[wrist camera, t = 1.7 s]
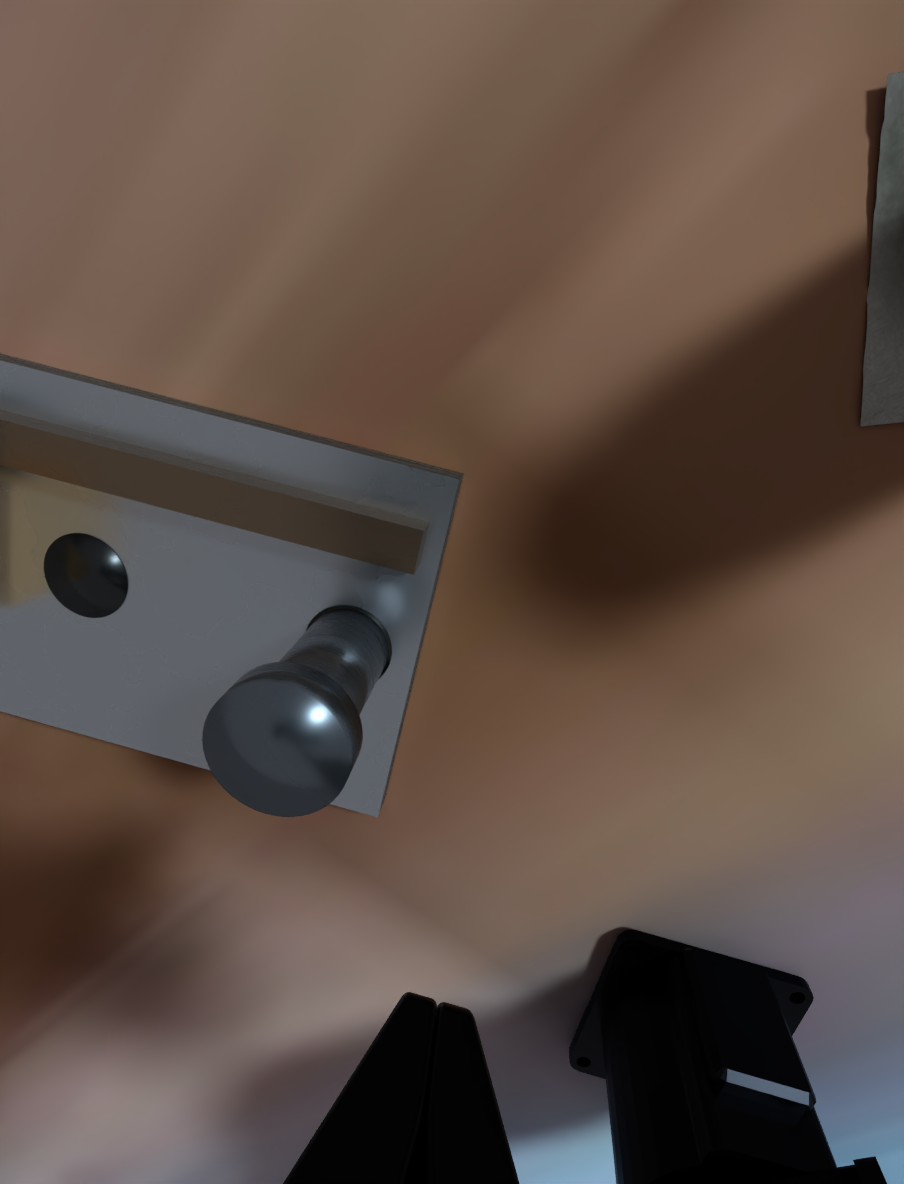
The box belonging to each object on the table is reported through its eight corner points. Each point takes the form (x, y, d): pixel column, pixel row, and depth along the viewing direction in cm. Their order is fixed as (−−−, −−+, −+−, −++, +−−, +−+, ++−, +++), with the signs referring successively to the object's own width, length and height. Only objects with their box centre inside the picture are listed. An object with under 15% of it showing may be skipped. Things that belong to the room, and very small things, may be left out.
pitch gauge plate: (384, 797, 21) (324, 968, 15) (-68, 671, 22) (-302, 786, 16) (463, 473, 18) (425, 526, 11) (-84, 332, 18) (-398, 309, 12)
